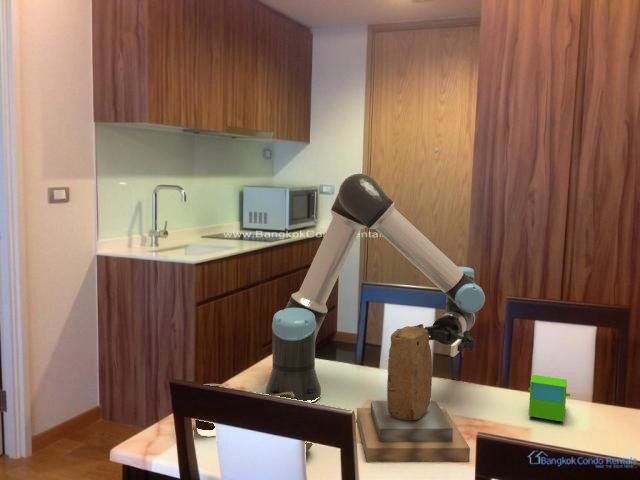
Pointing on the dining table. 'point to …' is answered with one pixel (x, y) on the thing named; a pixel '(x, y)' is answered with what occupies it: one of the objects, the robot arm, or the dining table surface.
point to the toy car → (547, 398)
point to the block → (409, 373)
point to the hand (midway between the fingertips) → (424, 346)
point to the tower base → (409, 447)
